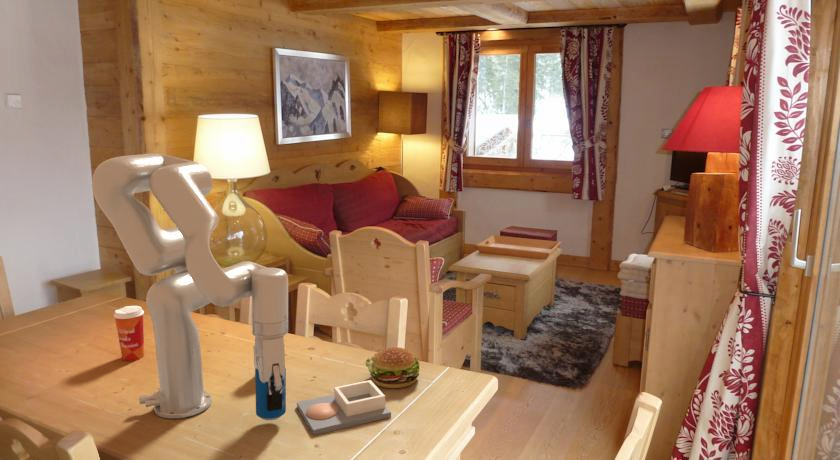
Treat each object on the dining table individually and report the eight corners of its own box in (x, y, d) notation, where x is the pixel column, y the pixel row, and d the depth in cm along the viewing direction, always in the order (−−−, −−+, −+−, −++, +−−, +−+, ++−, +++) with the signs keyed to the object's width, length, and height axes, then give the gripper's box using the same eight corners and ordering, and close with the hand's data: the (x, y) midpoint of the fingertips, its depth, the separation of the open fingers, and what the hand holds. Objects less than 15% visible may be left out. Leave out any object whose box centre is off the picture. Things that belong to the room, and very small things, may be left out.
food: (368, 368, 167) (367, 340, 165) (420, 368, 166) (420, 340, 165) (362, 391, 153) (361, 361, 152) (418, 392, 153) (418, 361, 151)
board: (313, 435, 133) (312, 417, 132) (297, 406, 145) (296, 390, 145) (391, 417, 141) (390, 399, 140) (368, 391, 153) (368, 375, 152)
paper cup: (111, 360, 172) (106, 312, 170) (133, 350, 179) (129, 303, 177) (133, 364, 169) (128, 315, 167) (154, 353, 176) (150, 307, 174)
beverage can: (278, 424, 134) (278, 372, 131) (250, 419, 135) (249, 368, 133) (290, 409, 140) (290, 360, 138) (263, 405, 141) (263, 356, 139)
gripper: (245, 314, 139) (246, 387, 143) (260, 343, 124) (261, 424, 128) (278, 310, 142) (278, 382, 146) (297, 338, 127) (297, 417, 131)
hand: (270, 401), depth 137 cm, fingers closed on beverage can, 6 cm apart
